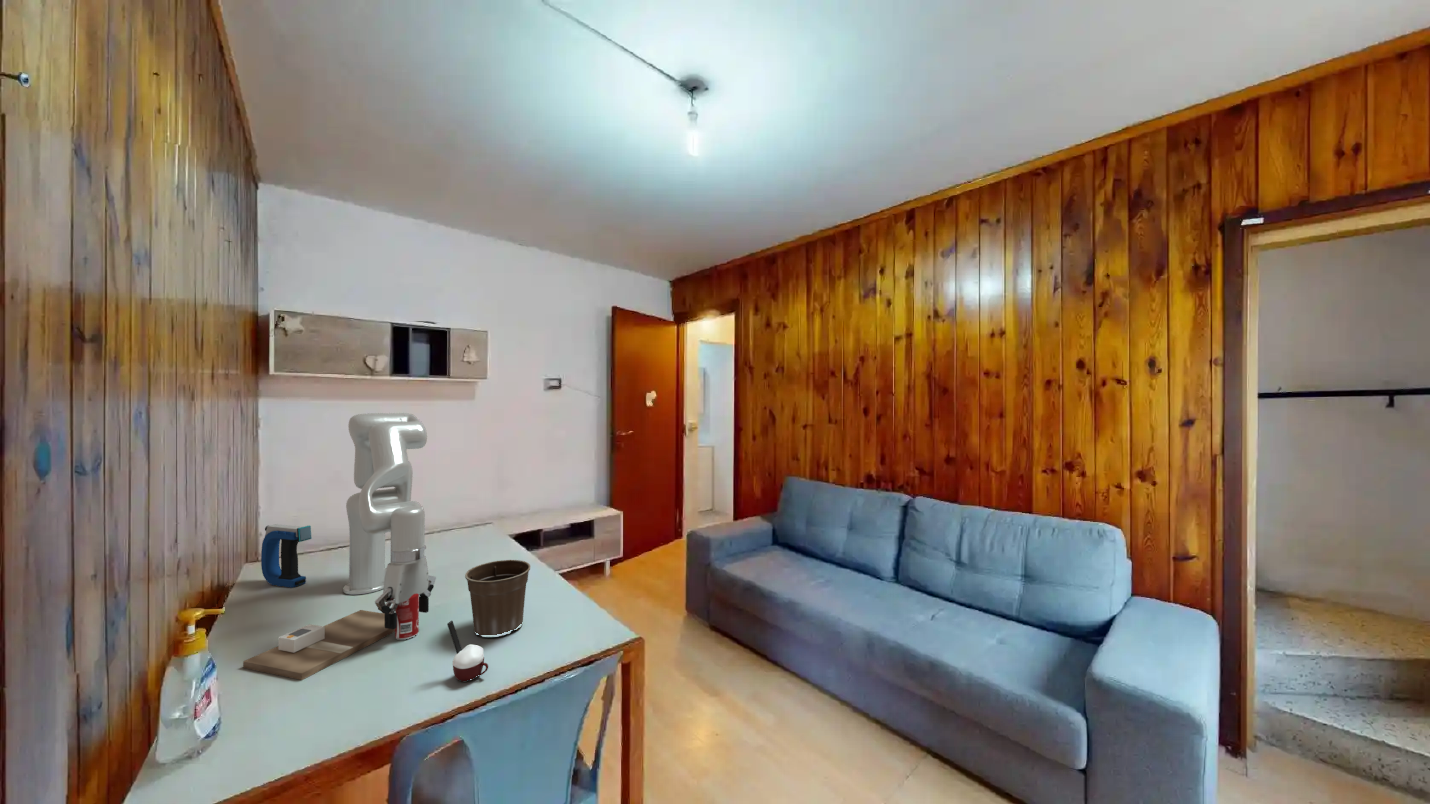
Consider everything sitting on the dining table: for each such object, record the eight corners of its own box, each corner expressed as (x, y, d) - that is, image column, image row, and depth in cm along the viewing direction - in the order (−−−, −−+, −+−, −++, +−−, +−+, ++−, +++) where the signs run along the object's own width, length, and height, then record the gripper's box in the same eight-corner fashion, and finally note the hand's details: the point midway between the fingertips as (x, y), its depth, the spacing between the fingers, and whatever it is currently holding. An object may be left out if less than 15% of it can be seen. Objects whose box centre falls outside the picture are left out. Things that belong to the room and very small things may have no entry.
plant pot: (464, 649, 119) (464, 585, 119) (464, 622, 134) (465, 564, 134) (533, 635, 127) (533, 574, 127) (526, 610, 141) (527, 556, 141)
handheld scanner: (298, 589, 155) (299, 528, 155) (259, 584, 158) (260, 525, 158) (312, 584, 159) (314, 525, 160) (274, 579, 163) (275, 522, 163)
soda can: (402, 631, 128) (402, 586, 128) (422, 630, 128) (422, 586, 128) (390, 641, 123) (391, 594, 123) (411, 640, 123) (412, 594, 123)
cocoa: (492, 677, 108) (496, 624, 108) (466, 691, 103) (470, 635, 103) (466, 664, 113) (470, 613, 113) (440, 676, 107) (444, 622, 107)
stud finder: (309, 635, 122) (309, 623, 122) (324, 638, 120) (324, 625, 120) (278, 649, 115) (278, 636, 115) (293, 652, 114) (294, 639, 114)
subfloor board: (360, 615, 137) (360, 609, 137) (411, 623, 133) (411, 617, 133) (243, 667, 110) (243, 661, 110) (301, 680, 106) (301, 673, 106)
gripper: (423, 544, 135) (423, 604, 135) (365, 564, 118) (364, 633, 118) (445, 546, 133) (445, 607, 133) (389, 567, 116) (388, 637, 116)
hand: (407, 619), depth 125 cm, fingers open, 9 cm apart
